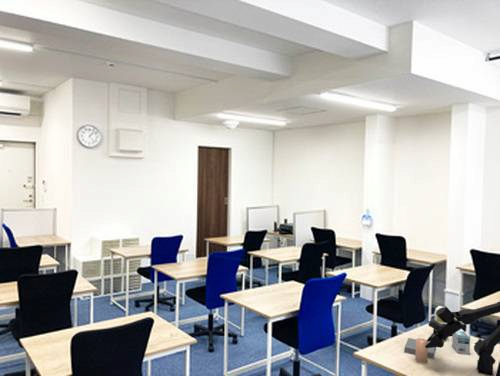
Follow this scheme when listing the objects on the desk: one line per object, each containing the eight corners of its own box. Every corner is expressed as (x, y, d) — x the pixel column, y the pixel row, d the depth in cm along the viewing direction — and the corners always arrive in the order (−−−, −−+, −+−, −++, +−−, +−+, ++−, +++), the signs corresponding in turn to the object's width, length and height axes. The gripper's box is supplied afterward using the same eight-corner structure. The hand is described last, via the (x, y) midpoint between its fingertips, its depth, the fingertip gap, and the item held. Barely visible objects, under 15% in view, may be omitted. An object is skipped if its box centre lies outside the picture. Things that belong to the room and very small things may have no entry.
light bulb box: (470, 354, 218) (470, 336, 218) (457, 353, 219) (457, 334, 219) (463, 346, 229) (464, 328, 228) (451, 345, 230) (452, 327, 230)
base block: (435, 348, 225) (436, 343, 225) (433, 359, 212) (433, 353, 212) (408, 342, 232) (408, 337, 232) (404, 352, 219) (404, 347, 219)
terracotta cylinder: (427, 359, 211) (428, 339, 211) (426, 364, 206) (427, 343, 205) (416, 356, 214) (416, 337, 214) (414, 361, 209) (415, 341, 208)
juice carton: (432, 338, 239) (433, 308, 238) (436, 334, 246) (437, 305, 245) (446, 342, 234) (447, 311, 234) (449, 337, 241) (450, 307, 240)
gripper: (440, 310, 213) (417, 325, 219) (437, 321, 197) (413, 337, 203) (455, 327, 209) (432, 342, 215) (453, 339, 193) (428, 355, 199)
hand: (426, 344), depth 208 cm, fingers open, 9 cm apart
